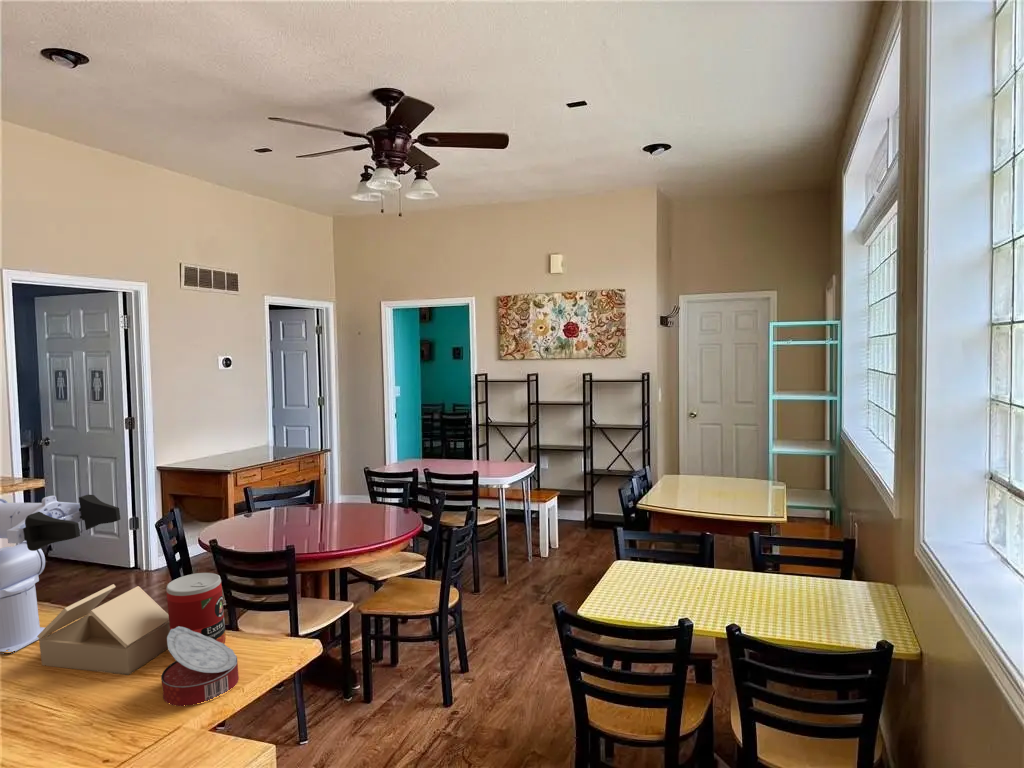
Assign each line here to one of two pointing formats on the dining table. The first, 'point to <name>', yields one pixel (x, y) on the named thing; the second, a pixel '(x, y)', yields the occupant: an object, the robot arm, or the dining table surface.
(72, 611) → the flap
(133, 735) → the dining table surface
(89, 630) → the carton
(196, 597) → the canned food
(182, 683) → the canned food
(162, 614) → the flap
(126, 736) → the dining table surface
